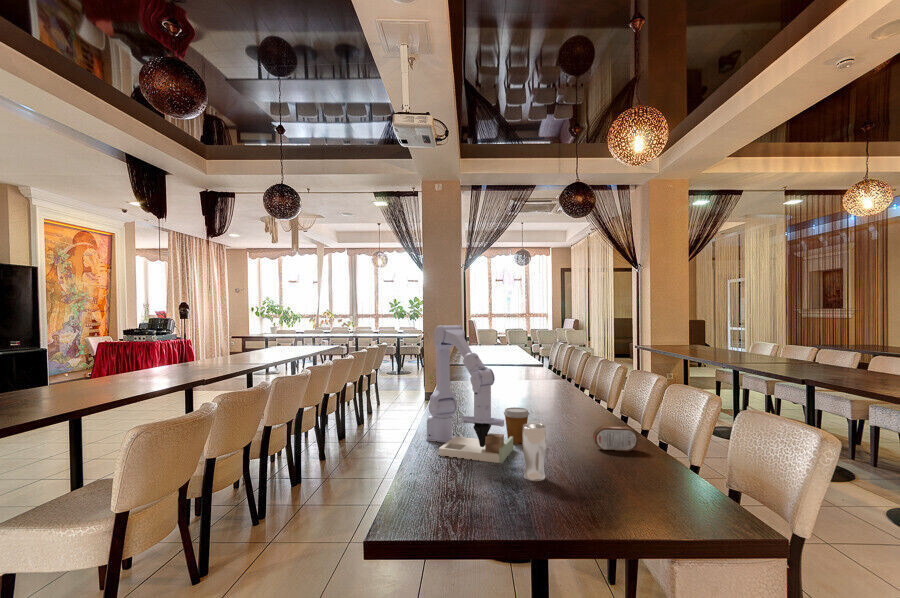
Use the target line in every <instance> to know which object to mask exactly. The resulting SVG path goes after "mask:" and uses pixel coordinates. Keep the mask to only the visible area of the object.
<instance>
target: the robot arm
mask: <svg viewBox="0 0 900 598" xmlns="http://www.w3.org/2000/svg"><path fill="white" fill-rule="evenodd" d="M465 333H466V332H465V330H464V329H463V327H462V325H460V324H456V325H455V324H454V325H441V324H439V325H437V326H436V327H435V329H434V331H433V341H434V344H433V345H434V347H435V368H436V369H435V370H436V371H435V375H436V378H435V379H436V383H435V384H436V390H435V391H434V392H433V393H432V394H431V395H430V396H429V403H428V412H429V413H430V415H428V417H427V419H426V439H425V441H426V442H428V441H429V442H436V441H437V442H438V443H447V442H448V441H449V440H451V439H452V438H453V437H457V436H456V435H455V436H454V435H453V417H454V416H455V414H456V412H457V410H458V403H457V400H456V394H455V393H454V392H452V391H451V370H450V369H451V367H450V365H451V360H450V350H451V348H452V347H453V346H454V347H455V348H456V349H457V351H458V352H459V353H460V355H461V356H462V357H463V360H462V363H463V365H464V367H465V368H466V370H467V372H468V373H469V375H470V377H469V380H470V383H471V386H472V387H471V390H472V392H473V415H472V416H468V415H467V416H465V415H463V416H461V418H460V420H461V423H460V424H472V425H473V430H474V431H475V434H476V436H477V439H479V444H480V447H484V446H485V437H486V436H487V435H488V434H489V433H490V430H491V427H492V426H496V427H504V426H505V419H501V418H497V417H496V418H494V417H492V386H493V385H494V383H495V381H496V380H495V378H496V377H495V373H494V371H493V370H492V368H488V367H487V366H485V364H484V363H483V361H482V359H480V357H479V354H477V353H476V352H473V350H472V349H471V348H470V346H469V344H468V342H467V341H466V338H465Z"/></svg>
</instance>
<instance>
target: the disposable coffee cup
mask: <svg viewBox="0 0 900 598" xmlns="http://www.w3.org/2000/svg"><path fill="white" fill-rule="evenodd" d="M528 410H529V409H527V408H523V407H506V408H504V412H503V414H504V415H503V416H504V421H505V427H506V434H507V439H508V438H509V437H510V436H511V437H513V443H514V444H513V445H520V444H519V443H522V434H523V425H524V424H528V420H529V415H530V412H529V411H528ZM515 443H516V444H515Z"/></svg>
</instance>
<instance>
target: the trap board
mask: <svg viewBox="0 0 900 598" xmlns="http://www.w3.org/2000/svg"><path fill="white" fill-rule="evenodd" d="M511 451H514V444H513V437H511V436H510V437H509V438H508V437H507V439H506V440H505V441H504V444H503V445H502V446H501V447H500V448H499V454H498V453H489V452H485V446H484V447H480V444H479V439H478V438H474V437H463V436H456V437H453V438H452V439H451V440H449V441H448V442H447V443H446V442H444V444H443V445H441V446H440V447H439V448H438V456H439V455H440V456H439V457H445V456H449V457H448V458H453V457H457V458H456V459H461V458H464V459H463V460H470V459H472V460H473V461H478V460H479V461H480V462H489V463H495V464H503V463H504V462H505V460H506V459H507V458H508V457H509V456H510V455H511V453H512V452H511ZM507 456H508V457H507ZM472 460H471V461H472Z"/></svg>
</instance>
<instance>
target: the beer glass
mask: <svg viewBox="0 0 900 598" xmlns="http://www.w3.org/2000/svg"><path fill="white" fill-rule="evenodd" d="M521 445H522V450H523V457H524V464H525V465H524V466H525V467H524V474H523V478H524V479H525V480H527V481H530V482H542V481H544V480H545V479H546V474H545V468H544V466H545V465H544V463H545V457H546V450H547V431H546V425H544V424H541V423H534V422H531V423H528V422H527V424H524V425H523V434H522V444H521Z"/></svg>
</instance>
